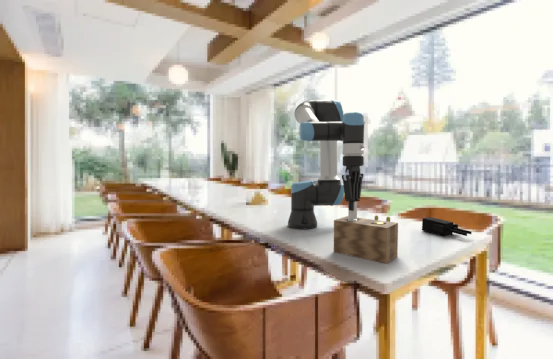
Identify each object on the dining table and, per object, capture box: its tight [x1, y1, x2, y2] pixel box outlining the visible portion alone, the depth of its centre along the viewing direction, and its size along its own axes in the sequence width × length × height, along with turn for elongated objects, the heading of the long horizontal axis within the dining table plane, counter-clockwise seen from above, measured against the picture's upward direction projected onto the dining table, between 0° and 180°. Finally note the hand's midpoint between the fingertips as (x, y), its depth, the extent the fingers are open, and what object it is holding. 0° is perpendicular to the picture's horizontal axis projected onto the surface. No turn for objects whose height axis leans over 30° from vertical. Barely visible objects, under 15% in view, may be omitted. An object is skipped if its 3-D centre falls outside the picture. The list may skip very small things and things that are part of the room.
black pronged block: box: [421, 216, 473, 237], centre depth 139 cm, size 11×6×20 cm
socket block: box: [333, 215, 399, 264], centre depth 112 cm, size 20×10×12 cm, turn 49°
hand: (352, 218), depth 115 cm, fingers closed
